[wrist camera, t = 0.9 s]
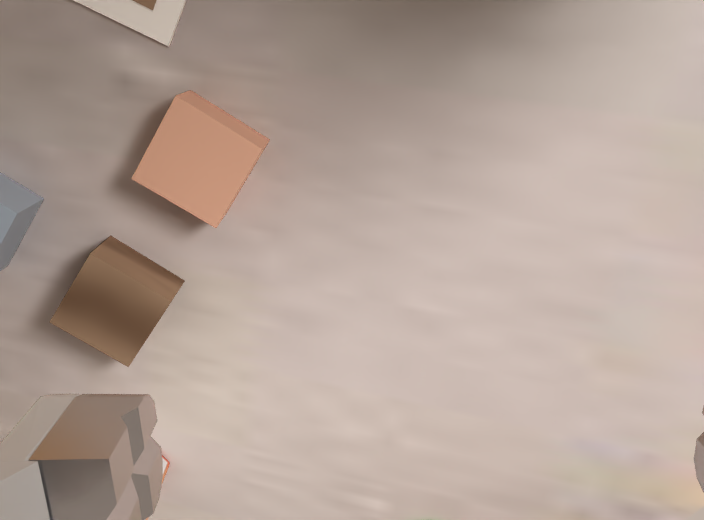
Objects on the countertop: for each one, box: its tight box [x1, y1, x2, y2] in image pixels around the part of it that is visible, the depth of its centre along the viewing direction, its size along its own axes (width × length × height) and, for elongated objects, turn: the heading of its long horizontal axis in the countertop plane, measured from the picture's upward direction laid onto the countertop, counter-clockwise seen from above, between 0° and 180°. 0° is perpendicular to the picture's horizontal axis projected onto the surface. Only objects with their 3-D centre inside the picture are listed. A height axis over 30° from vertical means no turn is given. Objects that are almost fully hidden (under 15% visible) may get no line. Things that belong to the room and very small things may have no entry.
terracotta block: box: [131, 90, 270, 228], centre depth 41 cm, size 6×6×4 cm
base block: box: [50, 236, 184, 367], centre depth 45 cm, size 6×6×4 cm
